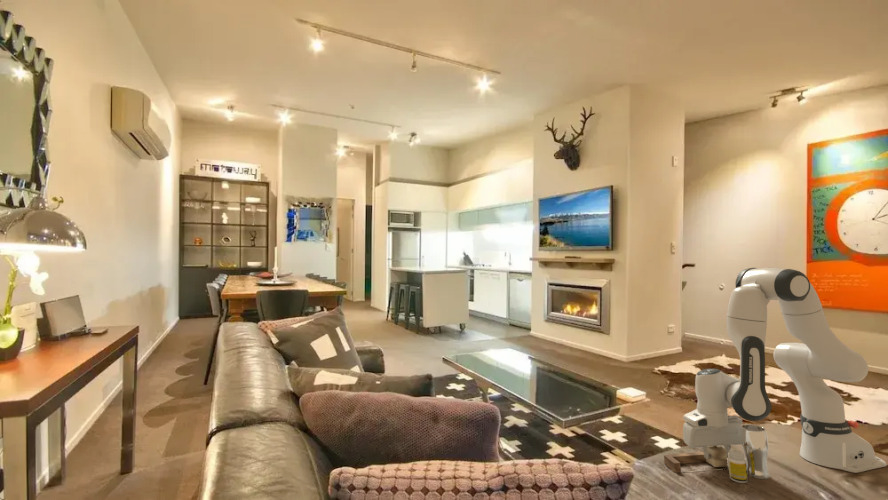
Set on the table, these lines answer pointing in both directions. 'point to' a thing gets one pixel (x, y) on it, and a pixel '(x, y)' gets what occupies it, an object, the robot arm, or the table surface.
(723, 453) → the block
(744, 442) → the beer glass
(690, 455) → the fence board
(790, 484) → the table surface
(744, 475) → the supplement bottle
